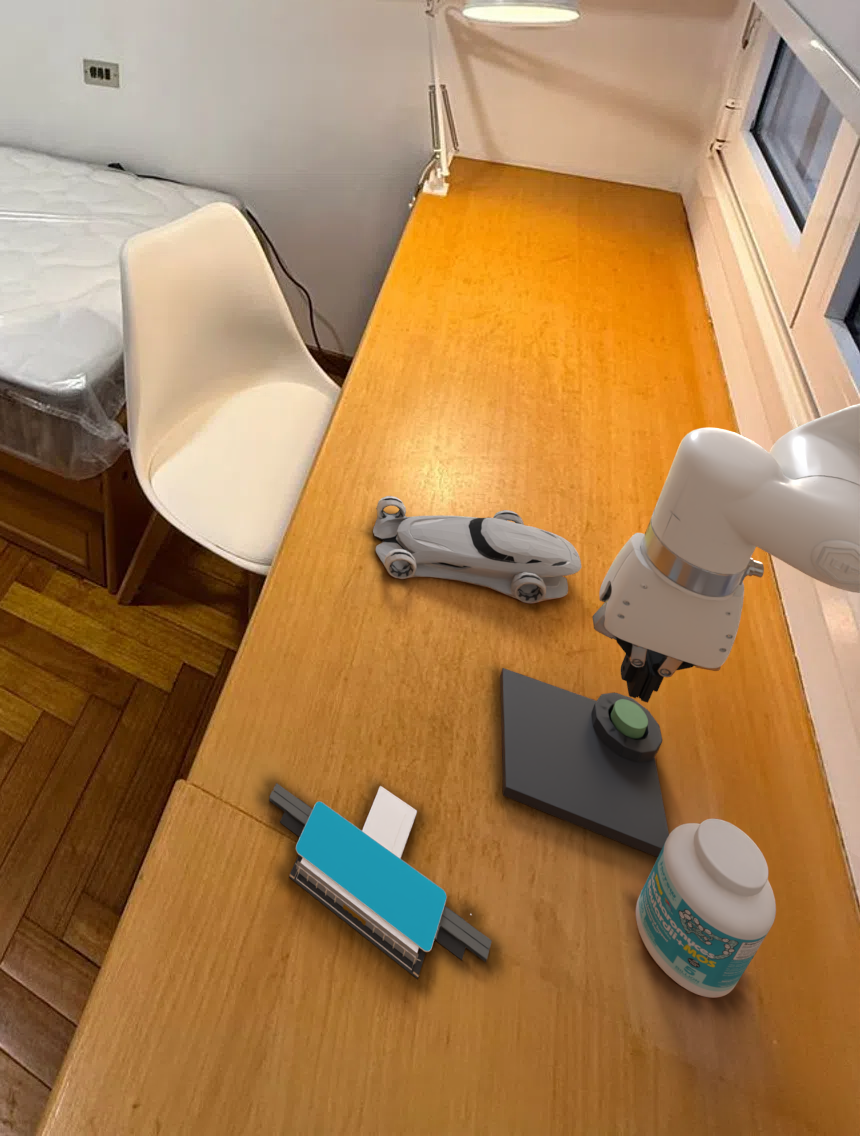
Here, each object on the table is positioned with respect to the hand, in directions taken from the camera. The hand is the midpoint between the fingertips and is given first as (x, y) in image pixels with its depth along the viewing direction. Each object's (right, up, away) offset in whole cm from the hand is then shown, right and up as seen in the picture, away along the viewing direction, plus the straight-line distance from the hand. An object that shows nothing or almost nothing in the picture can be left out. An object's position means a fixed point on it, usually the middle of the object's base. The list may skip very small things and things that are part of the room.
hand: (635, 686), depth 84 cm
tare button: (0, -5, +2) cm, 5 cm away
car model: (-6, +1, +23) cm, 24 cm away
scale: (-5, -8, +1) cm, 10 cm away
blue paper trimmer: (-29, -11, -7) cm, 32 cm away
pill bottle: (-4, -14, -13) cm, 19 cm away
